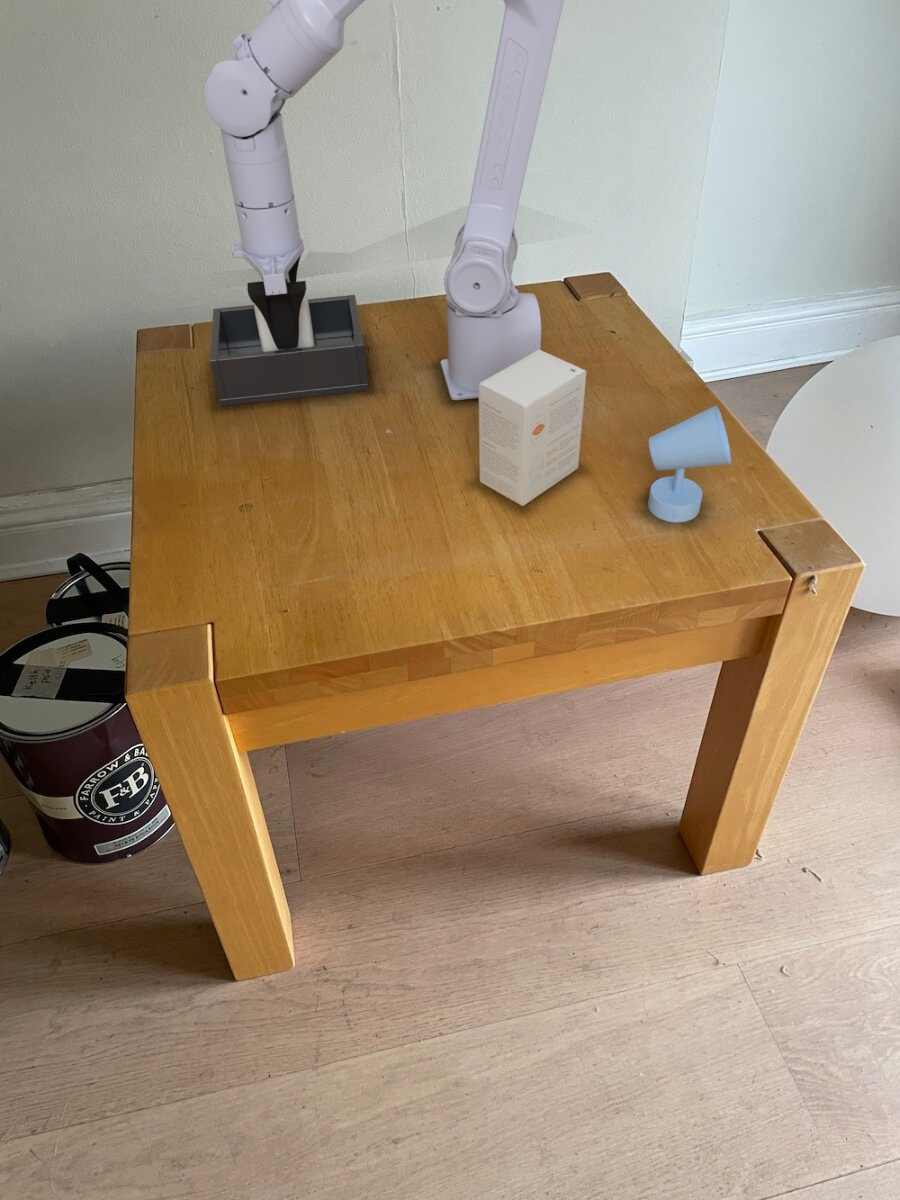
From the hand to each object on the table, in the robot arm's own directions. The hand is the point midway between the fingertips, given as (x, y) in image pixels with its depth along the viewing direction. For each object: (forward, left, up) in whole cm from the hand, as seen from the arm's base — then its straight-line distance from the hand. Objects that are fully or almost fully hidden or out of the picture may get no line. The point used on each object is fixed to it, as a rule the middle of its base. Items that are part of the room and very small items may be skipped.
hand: (286, 330), depth 94 cm
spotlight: (-33, +31, -5) cm, 46 cm away
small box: (-21, +24, -5) cm, 32 cm away
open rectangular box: (0, 0, -5) cm, 5 cm away
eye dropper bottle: (0, 0, -4) cm, 4 cm away
